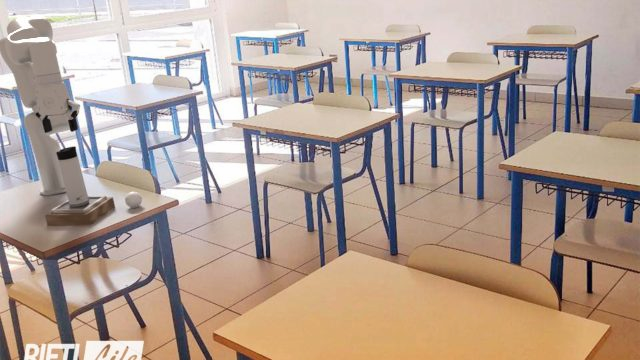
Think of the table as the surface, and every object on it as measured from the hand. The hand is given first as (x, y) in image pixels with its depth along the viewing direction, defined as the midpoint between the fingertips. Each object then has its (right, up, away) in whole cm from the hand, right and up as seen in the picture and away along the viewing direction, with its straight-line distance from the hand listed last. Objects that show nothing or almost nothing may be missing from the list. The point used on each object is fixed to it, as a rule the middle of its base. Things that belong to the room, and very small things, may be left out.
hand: (61, 131), depth 210 cm
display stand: (+3, -28, +10) cm, 30 cm away
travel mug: (+3, -24, +8) cm, 26 cm away
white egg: (+20, -25, +14) cm, 35 cm away
